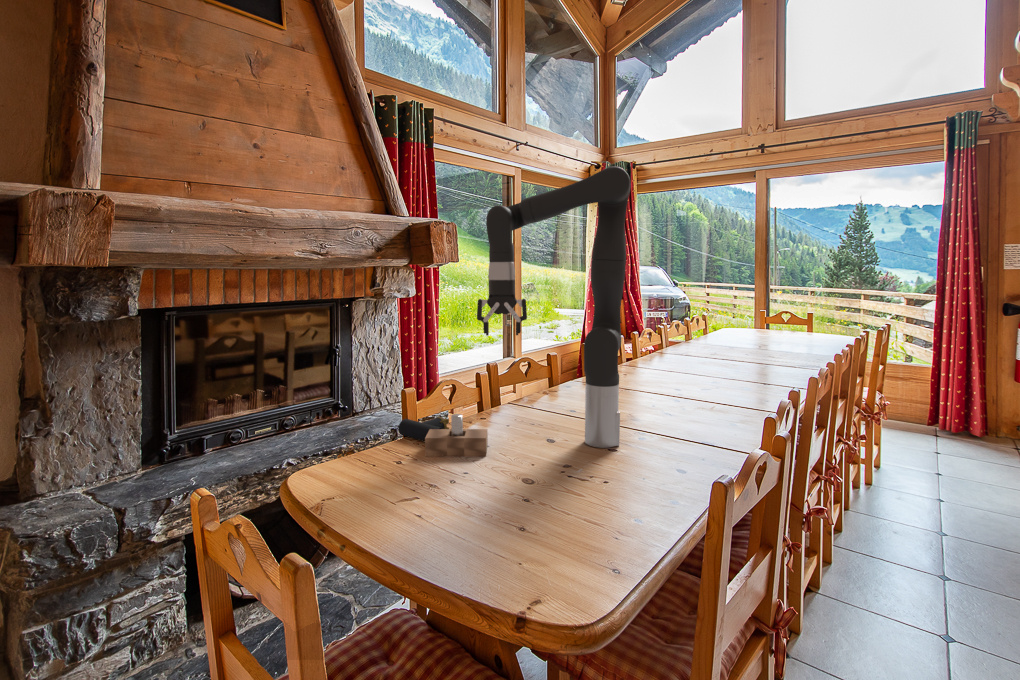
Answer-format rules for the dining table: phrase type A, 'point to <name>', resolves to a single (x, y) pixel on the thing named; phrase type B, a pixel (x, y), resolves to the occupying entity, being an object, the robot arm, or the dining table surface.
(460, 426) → the pin
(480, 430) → the socket block
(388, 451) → the dining table surface
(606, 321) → the robot arm
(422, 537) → the dining table surface
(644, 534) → the dining table surface
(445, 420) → the pipe connector
